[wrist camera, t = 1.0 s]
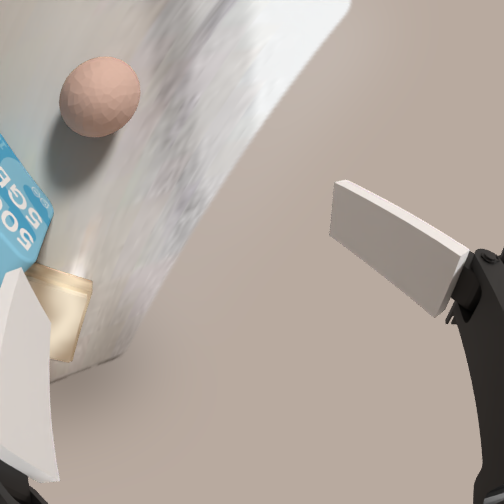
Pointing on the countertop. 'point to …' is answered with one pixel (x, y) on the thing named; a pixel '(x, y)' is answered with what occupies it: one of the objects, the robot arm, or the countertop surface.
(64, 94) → the egg
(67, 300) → the stand
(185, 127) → the countertop surface
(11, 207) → the blue box
